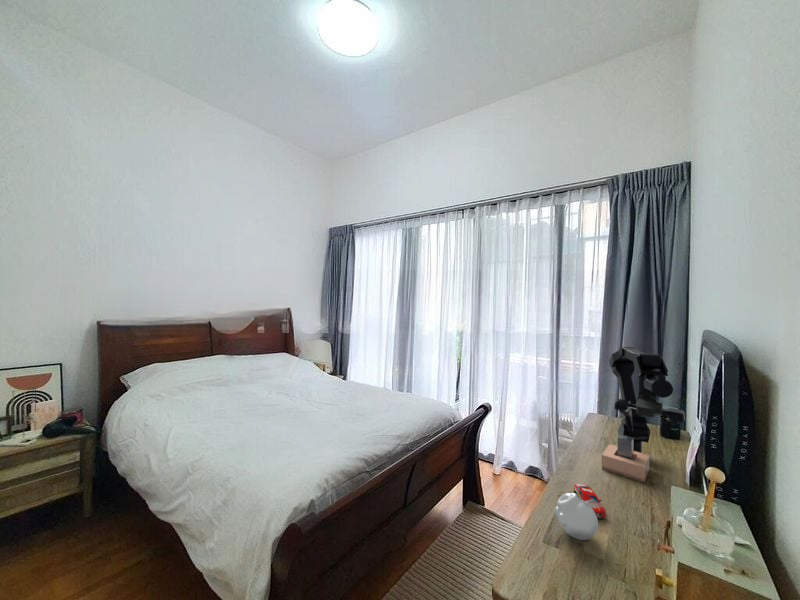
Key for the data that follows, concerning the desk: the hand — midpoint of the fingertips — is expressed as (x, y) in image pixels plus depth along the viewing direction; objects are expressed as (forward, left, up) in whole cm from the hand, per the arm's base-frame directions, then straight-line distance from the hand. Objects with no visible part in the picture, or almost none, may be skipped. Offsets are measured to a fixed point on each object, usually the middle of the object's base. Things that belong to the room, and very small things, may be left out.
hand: (648, 434), depth 109 cm
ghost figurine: (+51, -9, -13) cm, 53 cm away
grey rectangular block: (+3, -6, -12) cm, 14 cm away
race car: (+35, -10, -14) cm, 39 cm away
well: (+3, -6, -13) cm, 15 cm away
